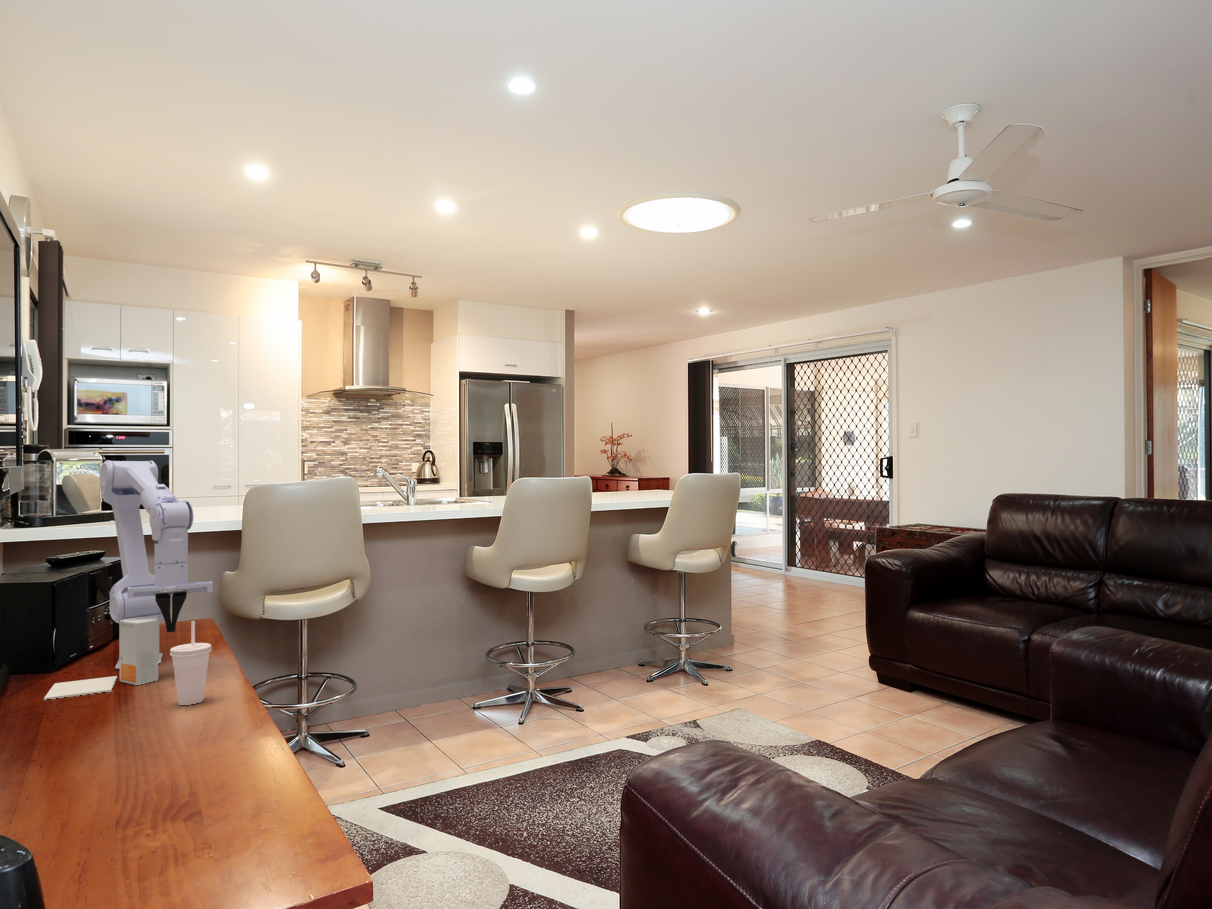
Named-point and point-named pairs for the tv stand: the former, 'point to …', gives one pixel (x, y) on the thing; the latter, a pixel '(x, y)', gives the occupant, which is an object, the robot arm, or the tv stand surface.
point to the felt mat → (81, 687)
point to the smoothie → (190, 669)
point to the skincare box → (138, 650)
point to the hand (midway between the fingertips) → (171, 631)
